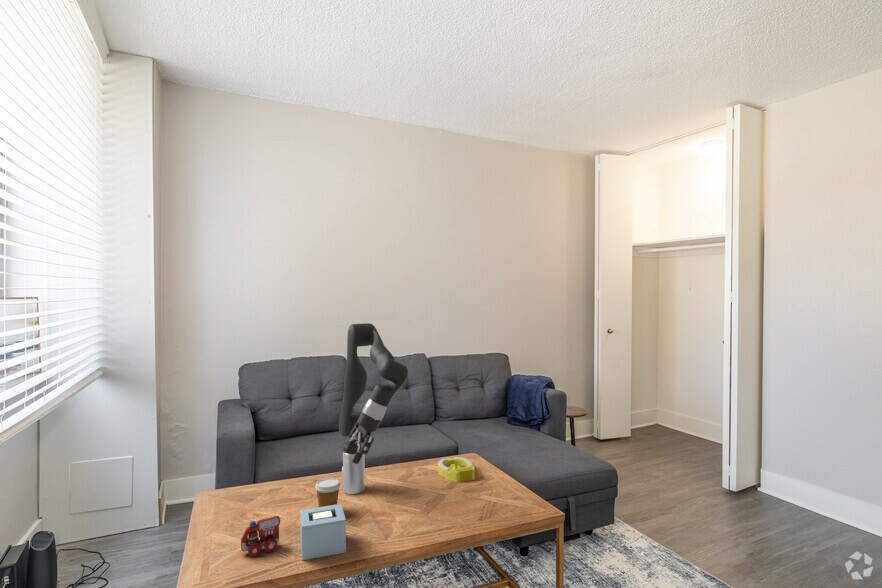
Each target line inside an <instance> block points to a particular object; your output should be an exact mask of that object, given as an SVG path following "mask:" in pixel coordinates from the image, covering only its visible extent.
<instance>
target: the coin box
mask: <svg viewBox="0 0 882 588" xmlns="http://www.w3.org/2000/svg"><path fill="white" fill-rule="evenodd" d="M326 511H331V513H332V518H326V519H320V520H314V521H313V514H315V513H320V512H326ZM299 517H300V519H299V520H300V526H299V528H300V530H299V532H300V551H301V552H300V553H301V560H302V561H307V560H312V559H316V558H317V559H318V558H322V557H328V556H334V555H338V554H339V555H340V554H344V553H346V552H347V536H346V535H347V524H346V523H347V521H346V520H347V519H346V516H345V512H344V509H343V506H342V503H339V504H338V503H337V505H330V506H324V507H319V506H317V507H312V508H305V509H300V514H299Z"/></svg>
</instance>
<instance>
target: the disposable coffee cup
mask: <svg viewBox="0 0 882 588" xmlns="http://www.w3.org/2000/svg"><path fill="white" fill-rule="evenodd" d="M314 487H315V488H314V489H315V491H316V496H317V503H318V504H317V505H318V507H324V506H330V505H337V504H338V500H339V499H338V498H339V491H340V487H341V483H340V481H339V479H337V478H333V477H328V478H321V479H319V480H318V481H316V483H315V486H314Z"/></svg>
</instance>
